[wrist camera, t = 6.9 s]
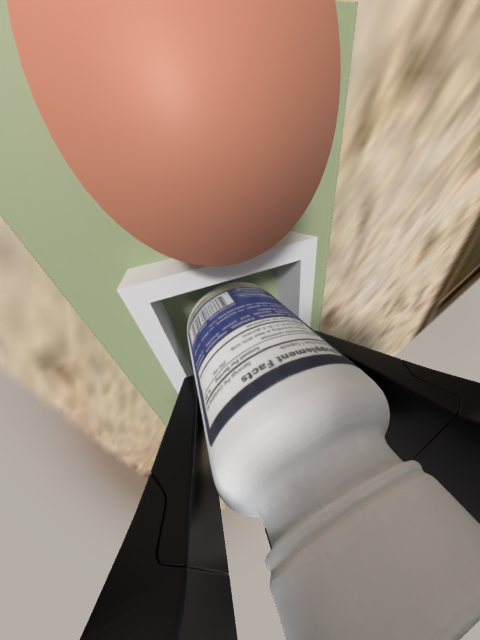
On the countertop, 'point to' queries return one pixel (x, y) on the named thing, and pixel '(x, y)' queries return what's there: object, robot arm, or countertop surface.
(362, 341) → the countertop surface
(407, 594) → the pill bottle
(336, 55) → the green board with tray
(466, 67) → the countertop surface
